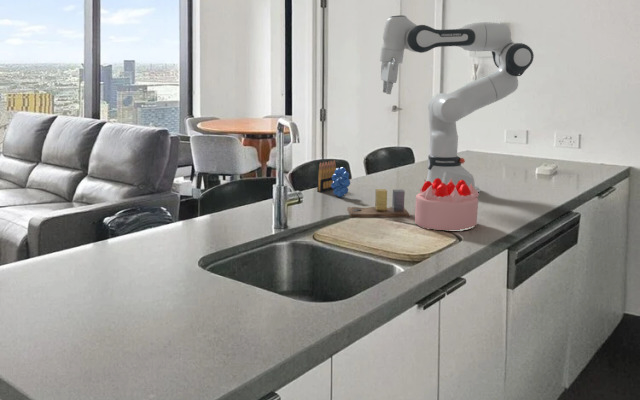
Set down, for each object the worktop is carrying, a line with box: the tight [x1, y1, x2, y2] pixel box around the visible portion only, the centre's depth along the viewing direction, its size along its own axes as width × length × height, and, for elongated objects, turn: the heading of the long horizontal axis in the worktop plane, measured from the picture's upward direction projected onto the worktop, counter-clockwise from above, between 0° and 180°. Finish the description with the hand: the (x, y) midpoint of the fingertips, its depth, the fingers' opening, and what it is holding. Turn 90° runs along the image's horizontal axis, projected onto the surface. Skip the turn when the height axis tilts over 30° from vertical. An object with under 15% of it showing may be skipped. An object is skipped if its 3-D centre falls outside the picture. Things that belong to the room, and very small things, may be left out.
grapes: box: [331, 166, 351, 199], centre depth 249 cm, size 12×7×12 cm, turn 31°
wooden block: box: [374, 188, 388, 210], centre depth 224 cm, size 4×4×7 cm
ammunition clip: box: [316, 159, 337, 193], centre depth 263 cm, size 11×2×12 cm, turn 140°
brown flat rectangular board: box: [347, 206, 410, 218], centre depth 224 cm, size 20×11×1 cm, turn 93°
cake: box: [414, 178, 480, 231], centre depth 209 cm, size 20×20×14 cm
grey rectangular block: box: [391, 189, 406, 212], centre depth 224 cm, size 4×4×7 cm
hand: (386, 93), depth 256 cm, fingers open, 8 cm apart
